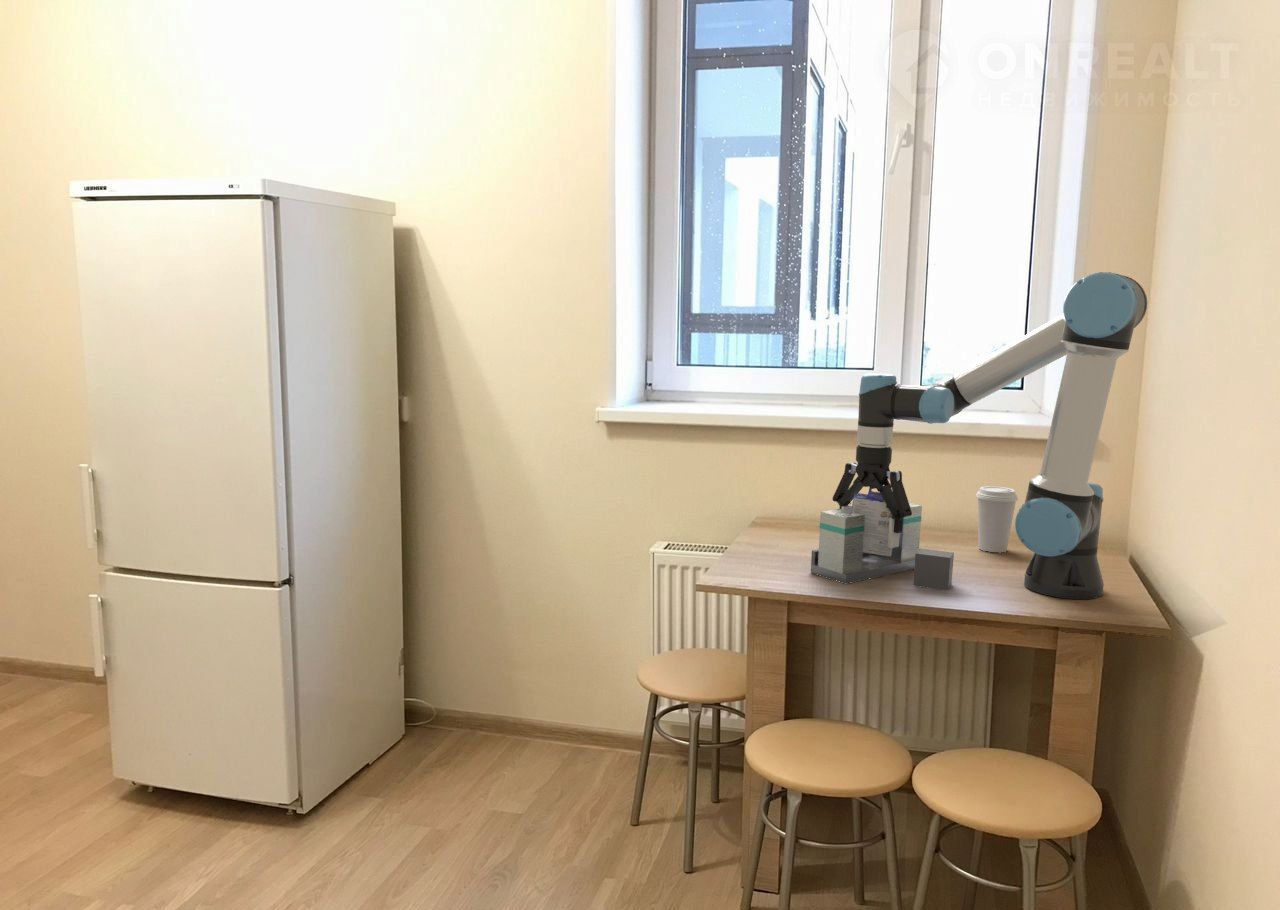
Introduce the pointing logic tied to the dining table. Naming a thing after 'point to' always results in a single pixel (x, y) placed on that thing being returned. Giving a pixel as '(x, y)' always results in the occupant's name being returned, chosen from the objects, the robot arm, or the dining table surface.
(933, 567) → the block
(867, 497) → the ink cartridge box
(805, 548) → the dining table surface
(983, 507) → the coffee cup
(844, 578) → the grey stand with boxes
